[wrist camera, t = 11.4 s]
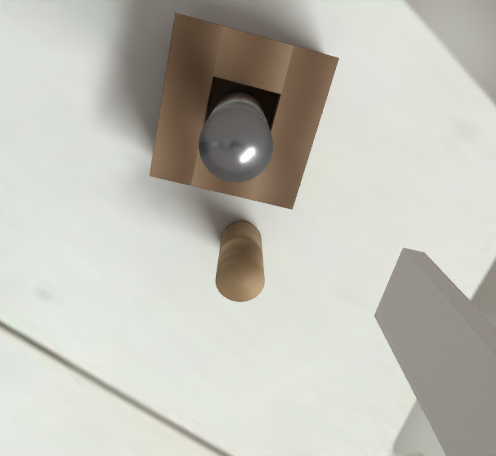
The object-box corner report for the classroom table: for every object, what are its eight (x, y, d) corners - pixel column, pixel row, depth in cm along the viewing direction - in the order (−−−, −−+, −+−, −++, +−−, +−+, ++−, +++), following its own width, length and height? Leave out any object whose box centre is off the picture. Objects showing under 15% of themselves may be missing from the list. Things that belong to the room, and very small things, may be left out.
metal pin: (211, 131, 35) (192, 172, 22) (221, 83, 33) (206, 99, 21) (255, 142, 35) (262, 189, 22) (267, 95, 34) (282, 118, 21)
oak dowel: (217, 253, 41) (210, 296, 33) (226, 217, 39) (221, 254, 32) (255, 261, 41) (257, 306, 34) (265, 226, 40) (270, 264, 32)
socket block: (161, 161, 37) (149, 175, 32) (185, 19, 33) (175, 12, 28) (286, 191, 38) (292, 209, 34) (326, 58, 34) (339, 58, 29)
